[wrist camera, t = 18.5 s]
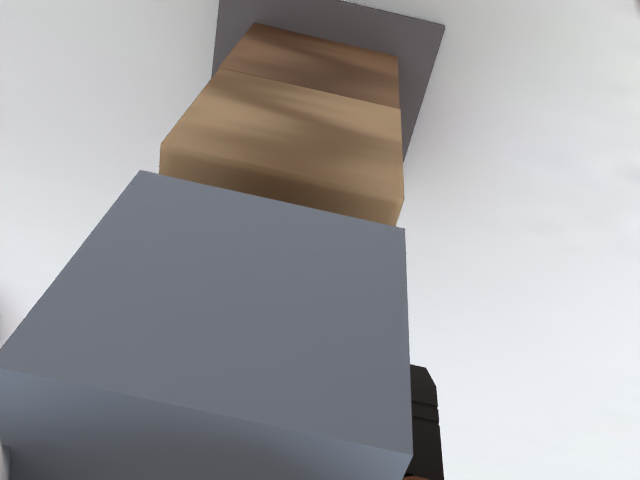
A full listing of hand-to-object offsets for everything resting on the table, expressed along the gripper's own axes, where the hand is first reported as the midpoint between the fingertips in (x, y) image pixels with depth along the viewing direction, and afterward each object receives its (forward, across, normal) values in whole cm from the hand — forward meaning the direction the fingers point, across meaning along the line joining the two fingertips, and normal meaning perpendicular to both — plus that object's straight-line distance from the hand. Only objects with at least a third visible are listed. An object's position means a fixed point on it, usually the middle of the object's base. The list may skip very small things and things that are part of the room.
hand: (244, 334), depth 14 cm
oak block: (+9, 0, 0) cm, 9 cm away
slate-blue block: (+1, 0, 0) cm, 1 cm away
